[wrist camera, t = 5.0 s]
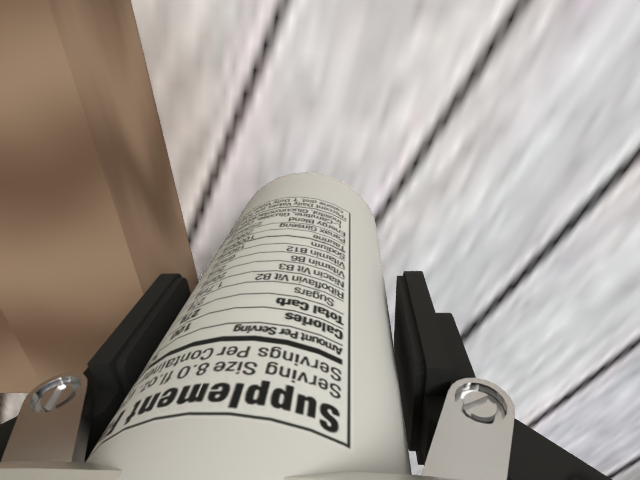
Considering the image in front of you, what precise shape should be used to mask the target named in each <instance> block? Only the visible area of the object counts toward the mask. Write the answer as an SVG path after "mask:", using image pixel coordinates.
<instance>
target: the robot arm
mask: <svg viewBox="0 0 640 480" xmlns="http://www.w3.org/2000/svg"><path fill="white" fill-rule="evenodd" d="M190 295H191V293H190V289H189V285H188V281H187V279H186V278H182V276H181V274H179V273H166V274H160V275H159V276H158V278H157V279H156V280H155V281H154V283H153V284H152V285H151V286H150V287H149V289H148V290H147V291H146V292H145V294H144V295H143V296H142V297H141V298H140V300H139V301H138V302H137V303H136V305H135V306H134V307H133V308H132V309H131V311H130V312H129V313H128V314H127V316H126V317H125V318H124V319H123V320H122V322H121V323H120V324H119V325H118V327H117V328H116V329H115V330H114V331H113V333H112V334H111V335H110V336H109V338H108V339H107V340H106V341H105V342H104V344H103V345H102V346H101V347H100V349H99V350H98V351H97V352H96V353H95V355H94V356H93V357H92V358H91V360H90V361H89V362H88V363H87V365H88V367H87V369H86V370H85V371H84V372H83V374H82V373H79V372H67V373H62V374H59V375H56V376H54V377H51V378H50V379H48V380H46V381H44V382H42V383H41V384H40V385H38V386H37V387H36V388H34V389H33V390H32V391H31V392H30V393H29V394H28V395H27V397H26V399H25V400H24V402H23V404H22V407H21V409H20V412H19V415H18V416H17V417H15V418H13V419H11V420H9V421H7V422H5V423H3V424H1V425H0V480H118V479H119V477H120V475H121V473H122V470H119V469H115V468H112V467H108V466H104V465H102V464H99V463H97V462H86V460H87V459H88V457H89V456H90V454H91V452H92V451H93V449H94V448H95V446H96V444H97V443H98V441H99V440H100V438H101V437H102V435H103V433H104V432H105V430H106V429H107V427H108V425H109V424H110V422H111V421H112V419H113V417H114V416H115V414H116V413H117V411H118V410H119V408H120V406H121V405H122V403H123V402H124V400H125V398H126V397H127V395H128V394H129V392H130V391H131V389H132V387H133V386H134V384H135V383H136V381H137V379H138V378H139V376H140V375H141V373H142V371H143V370H144V368H145V367H146V365H147V364H148V362H149V360H150V359H151V357H152V356H153V354H154V352H155V351H156V349H157V348H158V346H159V344H160V343H161V341H162V340H163V338H164V337H165V335H166V333H167V332H168V330H169V329H170V327H171V325H172V324H173V322H174V321H175V319H176V317H177V316H178V314H179V313H180V311H181V310H182V308H183V306H184V305H185V303H186V302H187V300H188V298H189V297H190ZM394 353H395V360H396V367H397V374H398V381H399V388H400V395H401V402H402V409H403V416H404V423H405V430H406V437H407V444H408V449H409V451H416V455H417V462H418V465H424V468H423V472H422V475H421V476H419V475H402V474H385V473H369V472H346V471H343V472H332V473H320V474H312V475H302V476H290V477H284V479H283V480H612V479H610V478H609V477H607V476H605V475H604V474H602V473H601V472H599V471H597V470H596V469H594V468H593V467H591V466H590V465H588V464H586V463H585V462H583V461H582V460H580V459H578V458H577V457H575V456H574V455H572V454H571V453H569V452H567V451H566V450H564V449H563V448H561V447H559V446H558V445H556V444H555V443H553V442H552V441H550V440H548V439H547V438H545V437H544V436H542V435H540V434H539V433H537V432H536V431H534V430H533V429H531V428H529V427H528V426H526V425H525V424H523V423H521V422H520V421H518V420H517V419H515V408H514V404H513V402H512V400H511V398H510V397H509V396H508V395H507V394H506V392H505V391H504V390H502V389H501V388H500V387H498V386H497V385H495V384H493V383H491V382H489V381H487V380H483V379H479V378H476V377H475V374H474V371H473V369H472V366H471V363H470V361H469V358H468V355H467V353H466V350H465V347H464V345H463V342H462V339H461V337H460V334H459V331H458V329H457V326H456V323H455V321H454V318H453V316H452V314H451V313H435V310H434V307H433V304H432V300H431V297H430V294H429V291H428V288H427V285H426V281H425V278H424V275H423V272H422V271H404V273H403V276H397V284H396V307H395V329H394Z"/></svg>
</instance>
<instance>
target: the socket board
mask: <svg viewBox="0 0 640 480" xmlns="http://www.w3.org/2000/svg"><path fill="white" fill-rule="evenodd" d="M166 273H179V274H181V276H182V278H186V279H187V281H188V285H189V289H190V293H191V294H192V292H193V291H194V289H195V287H196V286H197V284H198V279H197V274H196V270H195V266H194V262H193V258H192V254H191V249H190V245H189V241H188V237H187V233H186V229H185V225H184V220H183V216H182V212H181V208H180V204H179V200H178V196H177V191H176V187H175V183H174V179H173V175H172V171H171V166H170V162H169V158H168V154H167V150H166V146H165V142H164V137H163V133H162V129H161V125H160V121H159V117H158V113H157V108H156V104H155V100H154V96H153V92H152V88H151V83H150V79H149V75H148V71H147V67H146V63H145V59H144V54H143V50H142V46H141V42H140V38H139V34H138V30H137V25H136V21H135V17H134V13H133V9H132V5H131V0H0V393H30V392H31V391H32V390H33V389H34V388H36V387H37V386H38V385H40V384H41V383H42V382H44V381H46V380H48V379H50V378H51V377H54V376H56V375H59V374H62V373H67V372H79V373H82V374H83V372H84V371H85V370H86V369H87V367H88V365H87V363H88V362H89V361H90V360H91V358H92V357H93V356H94V355H95V353H96V352H97V351H98V350H99V349H100V347H101V346H102V345H103V344H104V342H105V341H106V340H107V339H108V338H109V336H110V335H111V334H112V333H113V331H114V330H115V329H116V328H117V327H118V325H119V324H120V323H121V322H122V320H123V319H124V318H125V317H126V316H127V314H128V313H129V312H130V311H131V309H132V308H133V307H134V306H135V305H136V303H137V302H138V301H139V300H140V298H141V297H142V296H143V295H144V294H145V292H146V291H147V290H148V289H149V287H150V286H151V285H152V284H153V283H154V281H155V280H156V279H157V278H158V276H159V275H160V274H166Z"/></svg>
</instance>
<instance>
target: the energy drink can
mask: <svg viewBox="0 0 640 480" xmlns="http://www.w3.org/2000/svg"><path fill="white" fill-rule="evenodd" d="M86 462H97V463H99V464H102V465H104V466H108V467H112V468H115V469H119V470H122V473H121V475H120V477H119V479H118V480H283V479H284V477H290V476H302V475H312V474H320V473H332V472H343V471H346V472H369V473H385V474H402V475H412V474H411V467H410V460H409V453H408V446H407V439H406V431H405V424H404V417H403V410H402V403H401V396H400V389H399V382H398V375H397V368H396V361H395V354H394V347H393V340H392V333H391V326H390V319H389V312H388V305H387V298H386V291H385V284H384V277H383V269H382V262H381V255H380V248H379V241H378V234H377V228H376V224H375V220H374V216H373V214H372V212H371V210H370V208H369V206H368V205H367V203H366V202H365V201H364V200H363V198H362V197H361V196H360V195H359V194H358V193H357V192H356V191H355V190H354V189H352V188H351V187H350V186H349V185H347V184H345V183H343V182H342V181H340V180H338V179H336V178H333V177H330V176H327V175H324V174H317V173H309V172H306V173H293V174H289V175H286V176H282V177H279V178H277V179H275V180H273V181H271V182H269V183H267V184H266V185H265V186H264V187H262V188H261V189H260V190H259V191H258V192H257V193H256V194H255V195H254V197H253V198H252V199H251V200H250V202H249V203H248V205H247V206H246V208H245V210H244V211H243V213H242V214H241V216H240V218H239V219H238V221H237V222H236V224H235V225H234V227H233V229H232V230H231V232H230V233H229V235H228V237H227V238H226V240H225V241H224V243H223V244H222V246H221V248H220V249H219V251H218V252H217V254H216V256H215V257H214V259H213V260H212V262H211V264H210V265H209V267H208V268H207V270H206V271H205V273H204V275H203V276H202V278H201V279H200V281H199V283H198V284H197V286H196V287H195V289H194V291H193V292H192V294H191V295H190V297H189V298H188V300H187V302H186V303H185V305H184V306H183V308H182V310H181V311H180V313H179V314H178V316H177V317H176V319H175V321H174V322H173V324H172V325H171V327H170V329H169V330H168V332H167V333H166V335H165V337H164V338H163V340H162V341H161V343H160V344H159V346H158V348H157V349H156V351H155V352H154V354H153V356H152V357H151V359H150V360H149V362H148V364H147V365H146V367H145V368H144V370H143V371H142V373H141V375H140V376H139V378H138V379H137V381H136V383H135V384H134V386H133V387H132V389H131V391H130V392H129V394H128V395H127V397H126V398H125V400H124V402H123V403H122V405H121V406H120V408H119V410H118V411H117V413H116V414H115V416H114V417H113V419H112V421H111V422H110V424H109V425H108V427H107V429H106V430H105V432H104V433H103V435H102V437H101V438H100V440H99V441H98V443H97V444H96V446H95V448H94V449H93V451H92V452H91V454H90V456H89V457H88V459H87V460H86Z"/></svg>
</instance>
